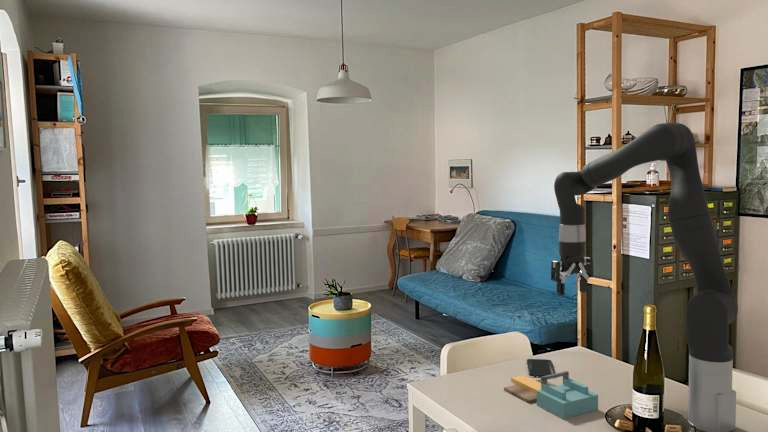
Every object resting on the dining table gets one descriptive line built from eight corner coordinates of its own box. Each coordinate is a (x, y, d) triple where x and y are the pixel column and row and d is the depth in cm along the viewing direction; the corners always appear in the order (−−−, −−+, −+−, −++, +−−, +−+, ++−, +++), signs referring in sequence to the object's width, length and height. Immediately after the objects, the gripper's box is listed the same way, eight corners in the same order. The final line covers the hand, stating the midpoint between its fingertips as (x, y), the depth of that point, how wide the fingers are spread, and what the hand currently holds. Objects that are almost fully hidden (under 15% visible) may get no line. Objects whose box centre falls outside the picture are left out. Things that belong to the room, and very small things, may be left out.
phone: (551, 359, 193) (555, 375, 179) (551, 363, 193) (555, 378, 179) (526, 358, 195) (528, 374, 180) (526, 362, 195) (528, 377, 180)
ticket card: (553, 393, 164) (553, 389, 164) (541, 396, 162) (541, 392, 162) (523, 379, 176) (523, 375, 176) (511, 381, 174) (511, 377, 174)
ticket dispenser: (598, 409, 154) (598, 381, 154) (563, 418, 149) (562, 389, 149) (570, 396, 163) (570, 370, 163) (536, 405, 158) (536, 377, 158)
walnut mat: (568, 393, 166) (568, 391, 166) (528, 403, 160) (528, 400, 160) (542, 381, 176) (542, 379, 176) (503, 390, 170) (503, 387, 169)
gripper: (562, 242, 167) (562, 298, 168) (599, 239, 173) (599, 293, 174) (544, 240, 174) (544, 294, 175) (581, 236, 180) (581, 289, 181)
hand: (572, 293), depth 175 cm, fingers open, 8 cm apart
